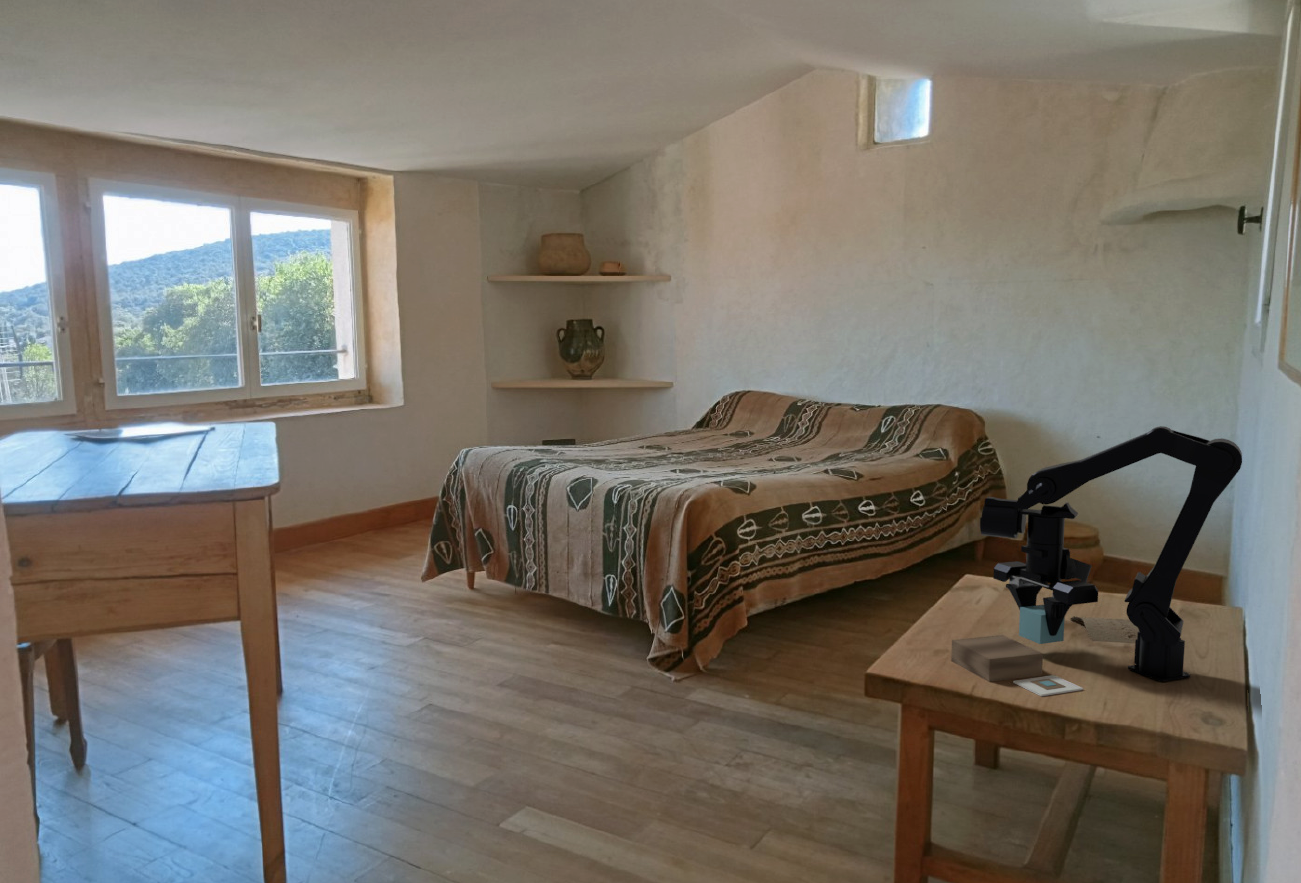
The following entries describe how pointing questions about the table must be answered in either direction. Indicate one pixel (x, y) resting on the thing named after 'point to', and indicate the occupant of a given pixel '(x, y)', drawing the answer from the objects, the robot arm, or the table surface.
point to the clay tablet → (1109, 629)
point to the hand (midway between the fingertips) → (1041, 631)
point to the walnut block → (997, 658)
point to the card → (1048, 685)
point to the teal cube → (1037, 625)
